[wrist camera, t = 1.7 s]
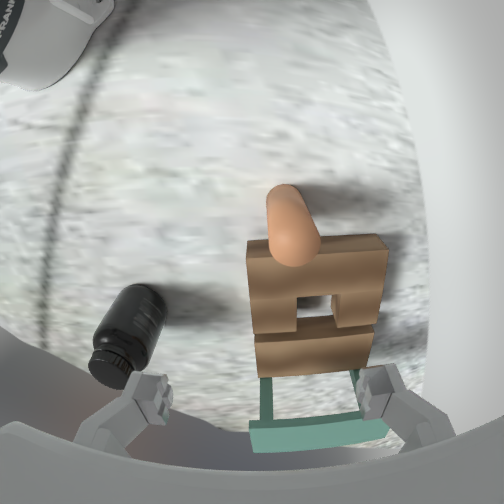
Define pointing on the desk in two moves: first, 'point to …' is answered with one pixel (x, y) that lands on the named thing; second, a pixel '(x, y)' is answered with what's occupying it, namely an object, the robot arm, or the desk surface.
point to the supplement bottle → (127, 336)
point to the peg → (290, 227)
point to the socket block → (316, 284)
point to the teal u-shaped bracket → (310, 427)
